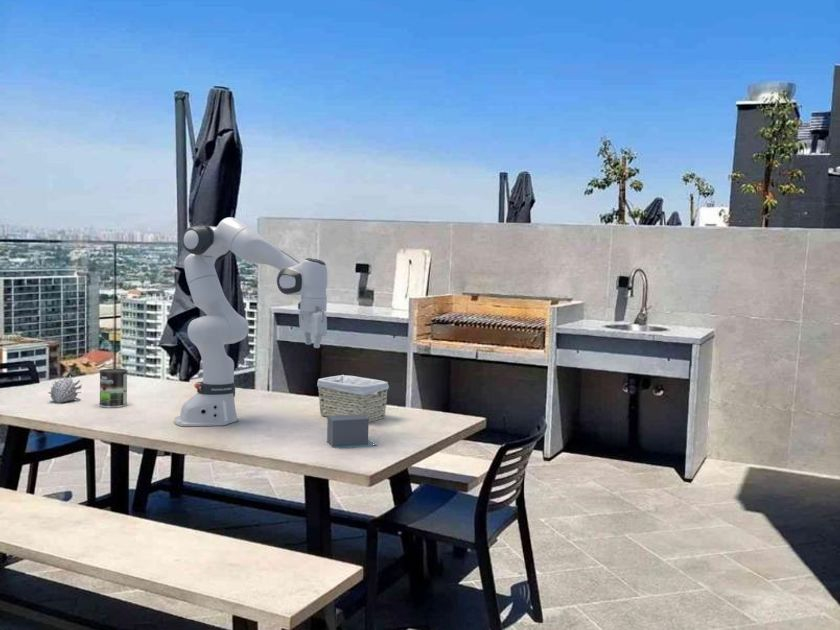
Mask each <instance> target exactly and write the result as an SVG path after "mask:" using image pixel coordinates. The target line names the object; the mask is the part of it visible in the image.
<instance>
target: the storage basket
mask: <svg viewBox="0 0 840 630" xmlns="http://www.w3.org/2000/svg"><path fill="white" fill-rule="evenodd" d="M316 386H317V389H318V400H319V403H318V404H319V413H320V416H323V417H327V416H341V415H361V414H363V415H364V416H366V417H367V418H369V423H371V422H375V420H376V421H379V419H380V420H382V419H384V418H385V417H386V409H387V401H388V399H387V398H388V390H389V389H390V385H389V383H388V381H384V380H380V379H374V378H368V377H361V376H355V375H344V374H341V375H334V376H327V377H322V378H321V377H320V378H318V380H317V385H316Z"/></svg>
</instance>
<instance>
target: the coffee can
mask: <svg viewBox="0 0 840 630" xmlns="http://www.w3.org/2000/svg"><path fill="white" fill-rule="evenodd" d="M127 397H128V369H125V368H103V369H99V407H100V408H105V409H107V408H108V409H111V408H112V409H113V408H114V409H116V408H124V407H126V406H127V405H128V398H127Z"/></svg>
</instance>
